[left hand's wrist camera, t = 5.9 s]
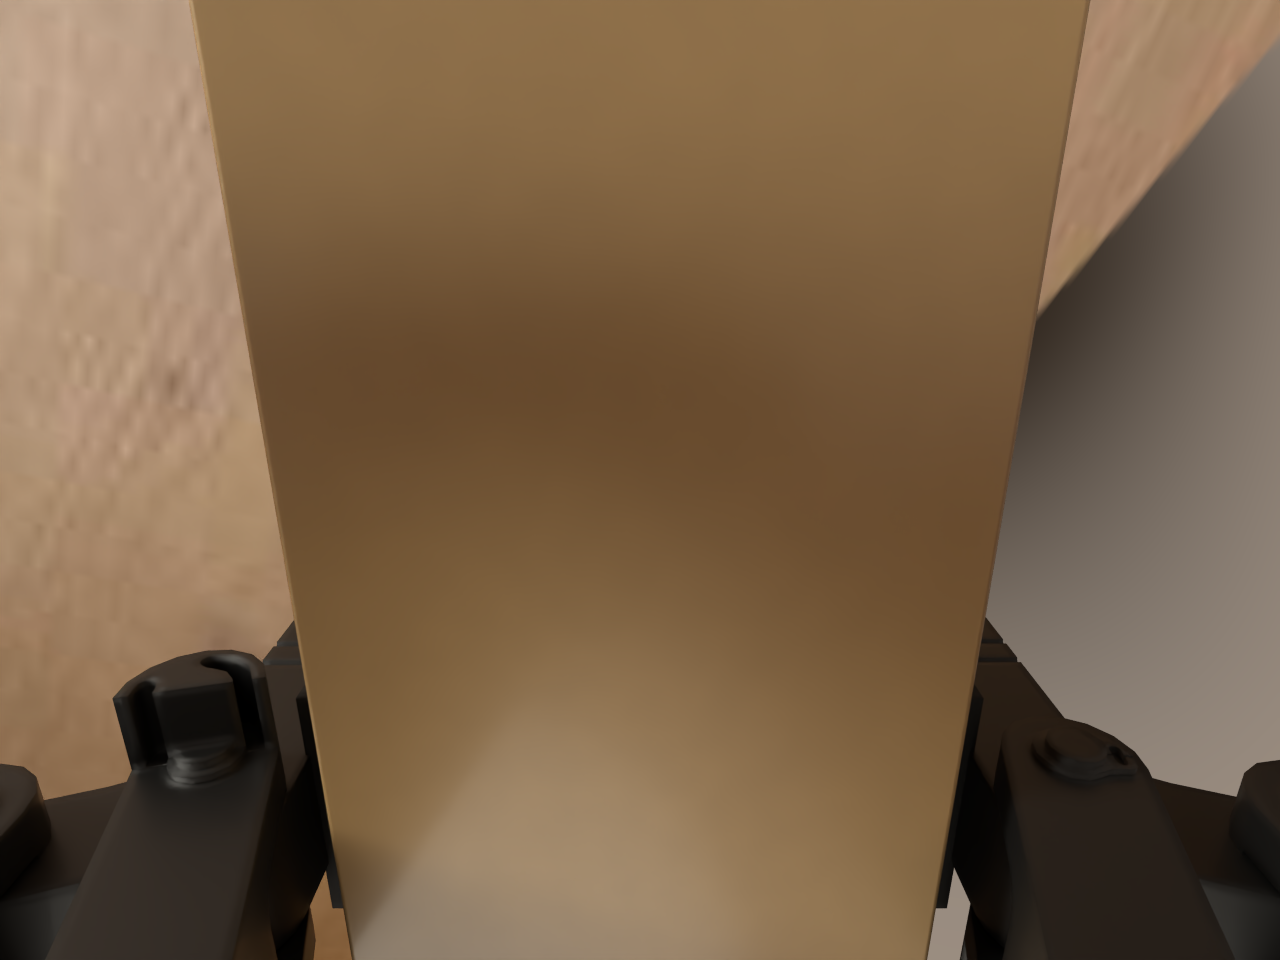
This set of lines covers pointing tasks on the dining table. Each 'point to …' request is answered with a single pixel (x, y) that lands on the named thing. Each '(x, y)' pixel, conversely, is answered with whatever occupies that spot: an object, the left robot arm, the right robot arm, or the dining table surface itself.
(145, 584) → the dining table surface
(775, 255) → the bar
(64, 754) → the dining table surface
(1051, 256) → the dining table surface
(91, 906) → the left robot arm
